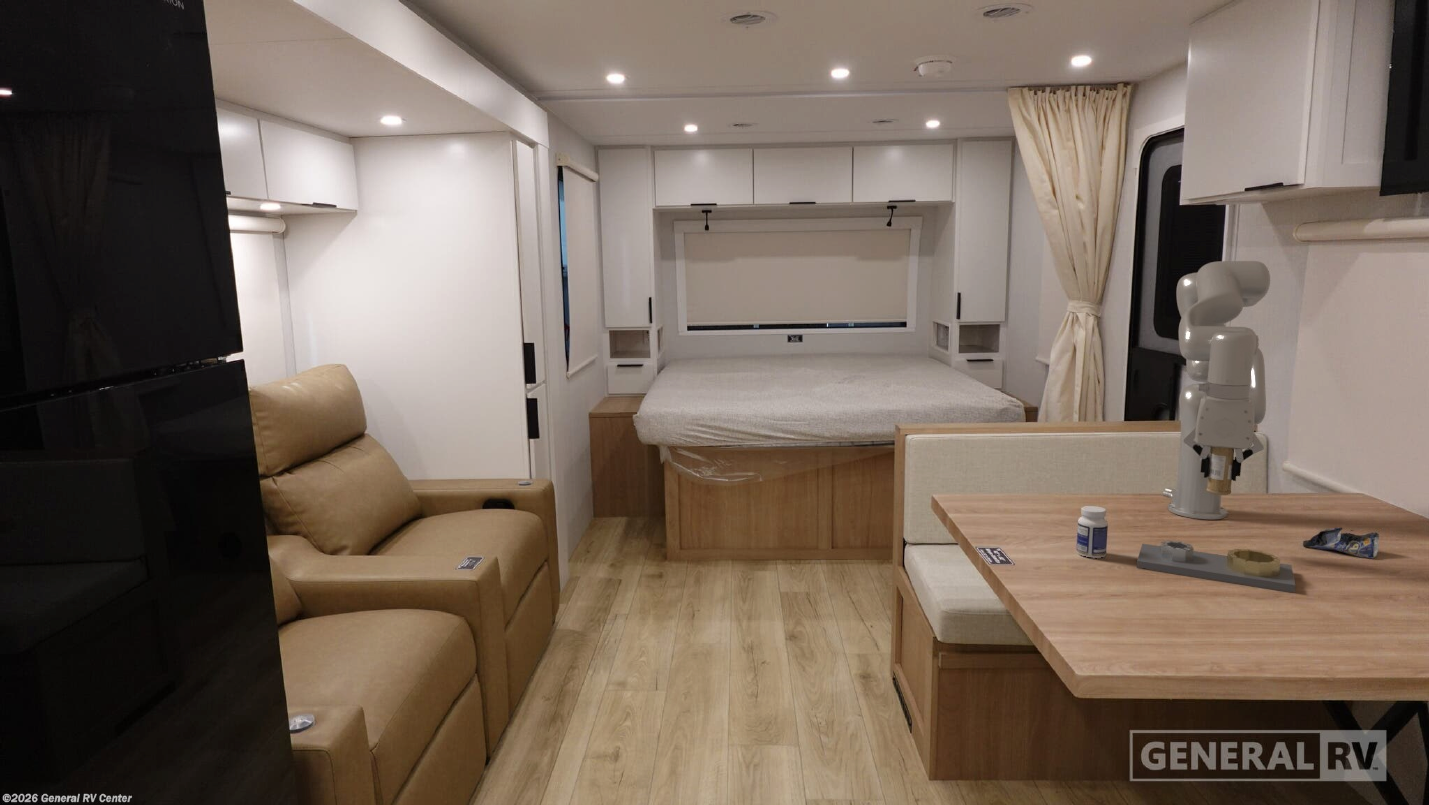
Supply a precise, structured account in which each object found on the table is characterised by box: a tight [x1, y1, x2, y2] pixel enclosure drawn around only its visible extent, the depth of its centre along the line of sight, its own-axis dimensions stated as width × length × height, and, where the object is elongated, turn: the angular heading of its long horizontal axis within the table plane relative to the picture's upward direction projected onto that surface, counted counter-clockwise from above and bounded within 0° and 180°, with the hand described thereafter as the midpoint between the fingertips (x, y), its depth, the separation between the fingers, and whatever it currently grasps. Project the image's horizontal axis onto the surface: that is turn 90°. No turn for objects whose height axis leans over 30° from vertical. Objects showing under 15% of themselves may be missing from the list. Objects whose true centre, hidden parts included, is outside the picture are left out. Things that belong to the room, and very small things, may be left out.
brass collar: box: [1226, 548, 1281, 577], centre depth 160 cm, size 8×8×2 cm
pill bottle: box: [1075, 505, 1109, 559], centre depth 173 cm, size 6×6×10 cm
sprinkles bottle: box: [1206, 447, 1235, 496], centre depth 172 cm, size 5×5×13 cm
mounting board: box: [1136, 543, 1296, 594], centre depth 164 cm, size 26×12×2 cm, turn 58°
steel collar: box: [1159, 540, 1195, 562], centre depth 167 cm, size 6×6×2 cm
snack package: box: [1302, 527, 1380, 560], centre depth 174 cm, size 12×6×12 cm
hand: (1219, 476), depth 173 cm, fingers closed on sprinkles bottle, 4 cm apart
